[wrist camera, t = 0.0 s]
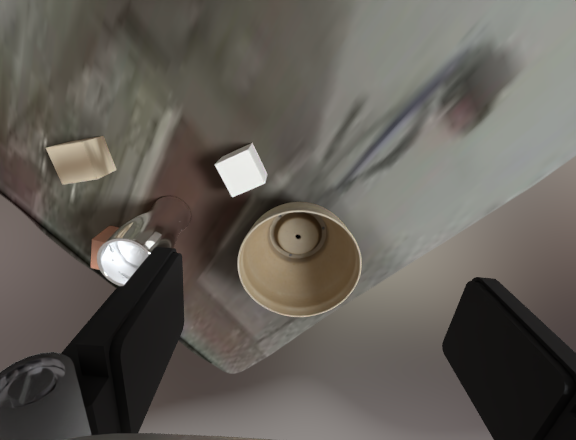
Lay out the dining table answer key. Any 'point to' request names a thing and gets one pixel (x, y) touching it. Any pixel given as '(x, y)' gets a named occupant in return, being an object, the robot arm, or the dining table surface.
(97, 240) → the rust block
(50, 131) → the dining table surface
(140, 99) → the dining table surface
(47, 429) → the robot arm
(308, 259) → the planter bowl
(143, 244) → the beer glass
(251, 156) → the cream block
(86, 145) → the beech block
